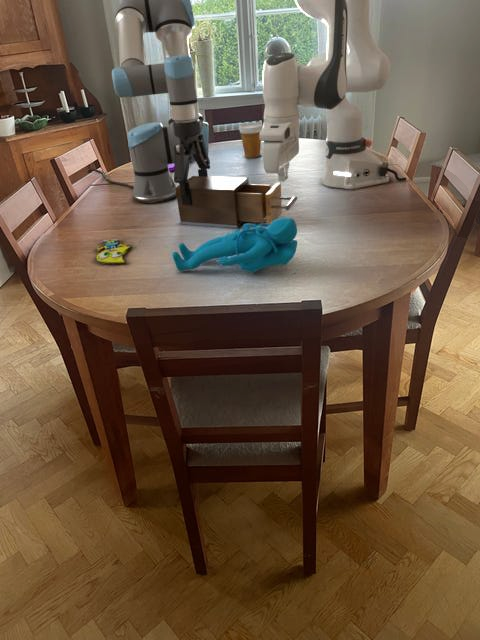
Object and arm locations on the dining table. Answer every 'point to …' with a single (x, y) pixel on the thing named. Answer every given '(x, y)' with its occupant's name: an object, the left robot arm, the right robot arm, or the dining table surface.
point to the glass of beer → (251, 139)
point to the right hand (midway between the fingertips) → (283, 180)
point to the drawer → (261, 203)
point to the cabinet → (211, 201)
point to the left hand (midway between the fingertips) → (196, 197)
